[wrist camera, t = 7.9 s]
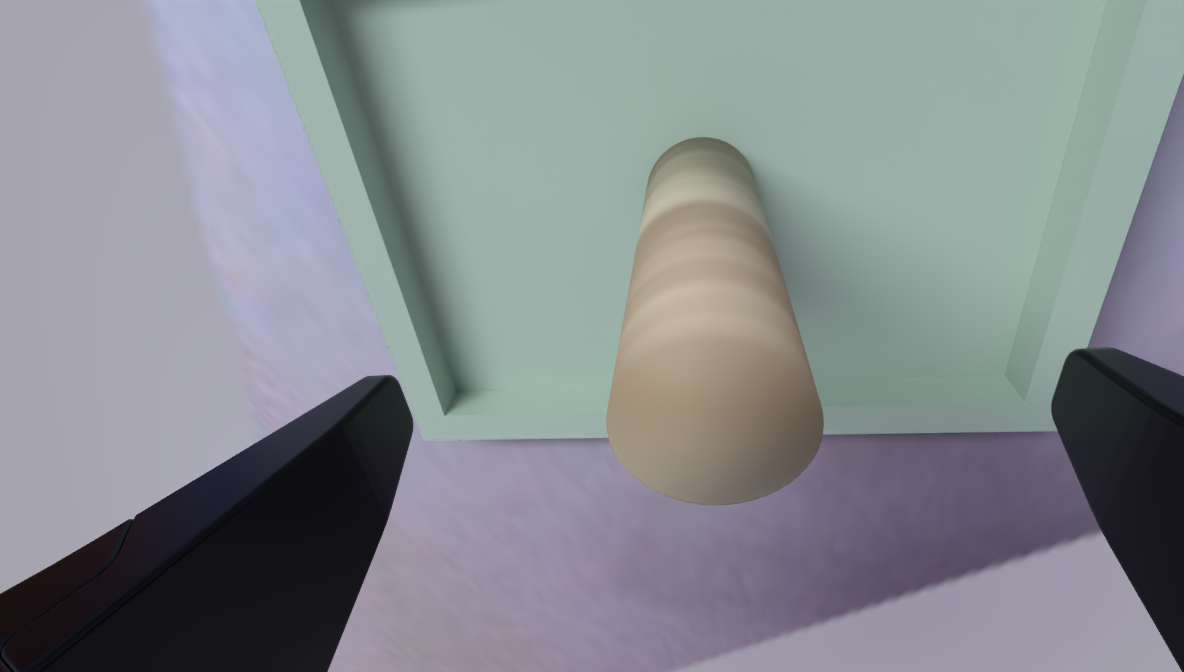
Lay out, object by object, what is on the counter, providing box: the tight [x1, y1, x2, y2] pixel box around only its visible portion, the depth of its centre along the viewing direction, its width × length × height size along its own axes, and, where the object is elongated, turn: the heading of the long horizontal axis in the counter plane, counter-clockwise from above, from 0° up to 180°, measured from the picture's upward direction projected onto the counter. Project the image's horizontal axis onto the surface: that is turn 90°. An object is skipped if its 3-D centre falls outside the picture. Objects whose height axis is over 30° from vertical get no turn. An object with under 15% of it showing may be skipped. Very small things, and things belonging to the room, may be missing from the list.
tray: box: [255, 0, 1184, 441], centre depth 15 cm, size 14×18×2 cm
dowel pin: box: [606, 137, 824, 505], centre depth 11 cm, size 3×3×9 cm
